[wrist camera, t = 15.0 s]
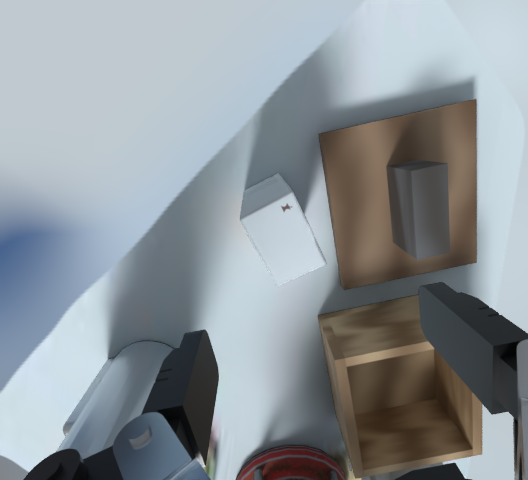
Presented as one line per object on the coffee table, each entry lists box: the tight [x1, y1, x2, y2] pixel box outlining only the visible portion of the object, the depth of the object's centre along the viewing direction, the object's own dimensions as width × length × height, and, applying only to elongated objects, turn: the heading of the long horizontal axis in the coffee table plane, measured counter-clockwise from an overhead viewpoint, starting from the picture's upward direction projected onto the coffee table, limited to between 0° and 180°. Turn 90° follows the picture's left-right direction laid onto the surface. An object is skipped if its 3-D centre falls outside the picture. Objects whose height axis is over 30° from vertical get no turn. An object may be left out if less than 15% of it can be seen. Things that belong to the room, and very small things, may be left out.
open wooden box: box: [318, 295, 482, 479], centre depth 36 cm, size 14×16×8 cm
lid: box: [318, 99, 477, 290], centre depth 30 cm, size 15×17×7 cm
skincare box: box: [240, 173, 326, 286], centre depth 27 cm, size 6×4×12 cm
